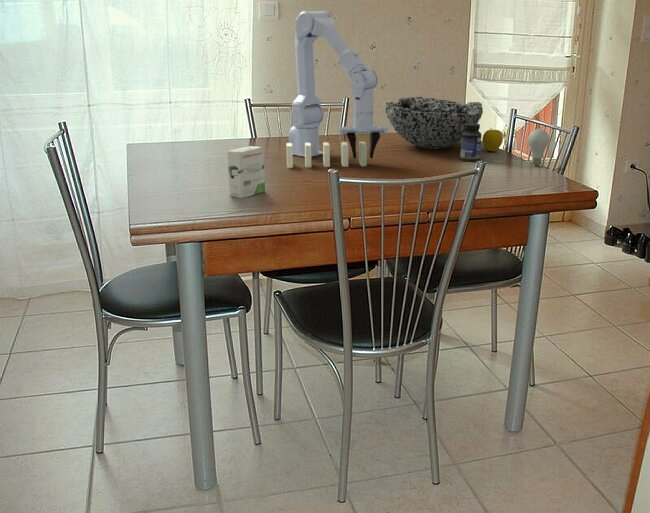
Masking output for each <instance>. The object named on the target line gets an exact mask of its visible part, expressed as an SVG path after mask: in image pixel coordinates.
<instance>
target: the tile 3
mask: <svg viewBox="0 0 650 513" xmlns="http://www.w3.org/2000/svg"><path fill="white" fill-rule="evenodd" d="M330 146H331V145H330V143H329V141H327V142H322V152H323V154H322V165H323V167H324V168H330V167H331V163H330V162H331V156H330V155H331V153H330V152H331V150H330V149H331V147H330Z"/></svg>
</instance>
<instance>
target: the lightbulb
mask: <svg viewBox="0 0 650 513" xmlns="http://www.w3.org/2000/svg"><path fill="white" fill-rule="evenodd" d="M527 137H528V138H527V142H528V146H529V148H530V151H531V157H532V160H531V162H532V163H531V164H532V165H533V166H534V167H539V166H540V165H541V164H542V159H543V157H544V153H545V150H546V149H547V147H548V146H549V144H550V140H551V139H550V138H551V137H550V135H549V133H548V131H546V130H545V129H543V128H537V129H534V130H532V131H531V132H530V133H529V135H528V136H527Z"/></svg>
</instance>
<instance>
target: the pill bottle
mask: <svg viewBox="0 0 650 513" xmlns="http://www.w3.org/2000/svg"><path fill="white" fill-rule="evenodd" d="M480 126H481V124H480V123H478V124H477V123H466V124H464V129H465V131H464V132H462V134H461V141H460V152H459V153H460V154H459V158H460V160H461V161H462V162H463V161H464V162H473V163H474V162H479V161H480V160H481V152H482V151H481V149H482V137H483V135H482V133H481V132H480V129H481V128H480Z"/></svg>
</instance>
